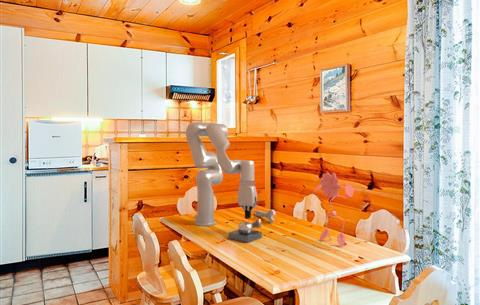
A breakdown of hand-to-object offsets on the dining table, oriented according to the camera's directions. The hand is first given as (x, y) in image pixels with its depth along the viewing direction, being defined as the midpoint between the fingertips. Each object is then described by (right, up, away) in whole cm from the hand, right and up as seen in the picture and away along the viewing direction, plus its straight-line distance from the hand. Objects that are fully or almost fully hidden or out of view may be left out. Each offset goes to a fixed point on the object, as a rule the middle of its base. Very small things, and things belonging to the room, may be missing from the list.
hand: (247, 218), depth 191 cm
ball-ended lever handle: (+1, -5, -6) cm, 8 cm away
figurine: (+38, -10, -18) cm, 43 cm away
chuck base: (-2, -9, -9) cm, 13 cm away
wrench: (+11, -7, +33) cm, 36 cm away
